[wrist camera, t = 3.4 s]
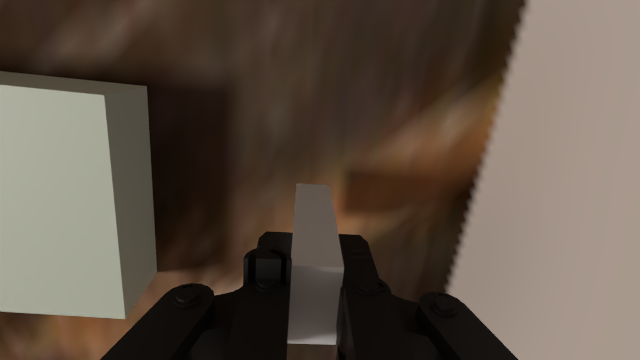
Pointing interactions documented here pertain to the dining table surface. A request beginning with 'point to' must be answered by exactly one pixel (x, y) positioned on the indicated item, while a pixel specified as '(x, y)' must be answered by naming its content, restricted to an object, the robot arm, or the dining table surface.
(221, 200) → the dining table surface
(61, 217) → the sage block
